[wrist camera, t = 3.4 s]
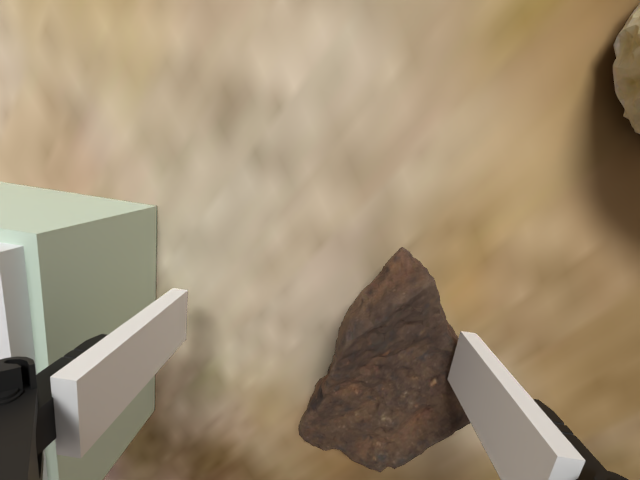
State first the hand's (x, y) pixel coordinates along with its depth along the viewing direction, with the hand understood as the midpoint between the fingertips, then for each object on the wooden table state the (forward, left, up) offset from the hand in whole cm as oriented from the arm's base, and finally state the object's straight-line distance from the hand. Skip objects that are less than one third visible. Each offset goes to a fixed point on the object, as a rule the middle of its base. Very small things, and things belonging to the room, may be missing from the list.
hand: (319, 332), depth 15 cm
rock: (-1, 0, -2) cm, 2 cm away
